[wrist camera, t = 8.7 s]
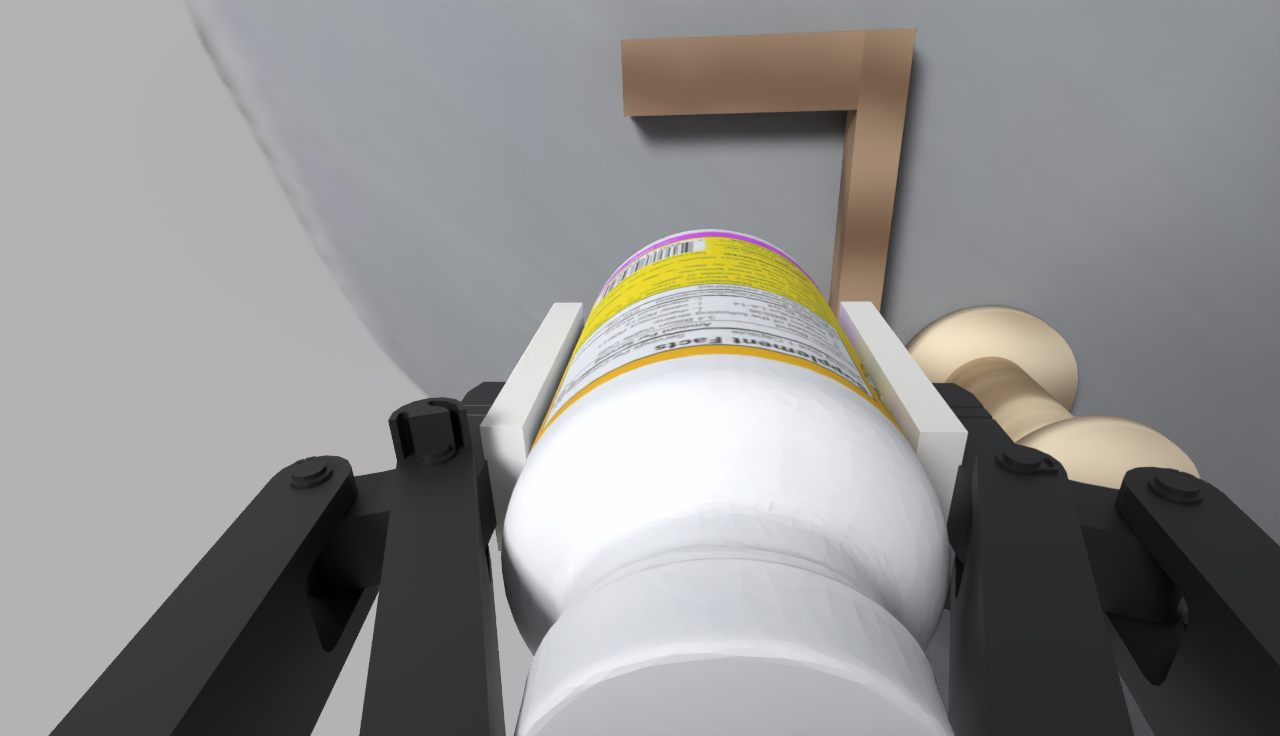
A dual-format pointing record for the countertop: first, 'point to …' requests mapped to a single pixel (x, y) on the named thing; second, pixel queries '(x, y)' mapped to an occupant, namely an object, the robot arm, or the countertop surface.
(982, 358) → the bobbin
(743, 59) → the notch board
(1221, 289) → the countertop surface
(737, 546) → the supplement bottle
